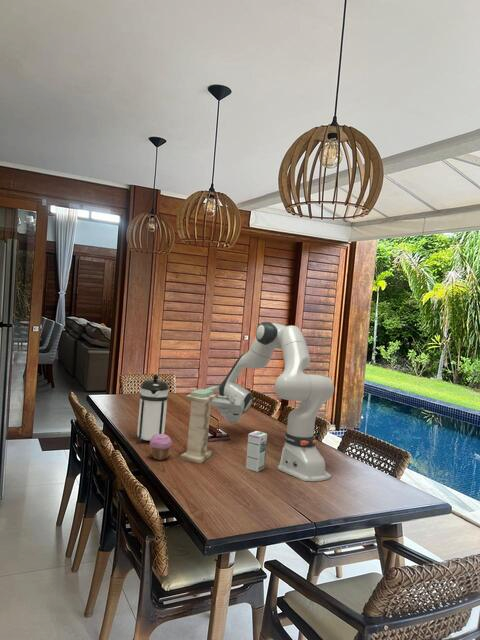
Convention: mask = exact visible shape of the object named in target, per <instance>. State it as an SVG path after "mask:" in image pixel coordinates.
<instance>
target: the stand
mask: <svg viewBox="0 0 480 640" xmlns="http://www.w3.org/2000/svg"><path fill="white" fill-rule="evenodd" d="M190 395H191V393H190V394H187V395H185V396H184V397H185V401H189V402H191V403H190V414H189V422H188V423H189V424H188V437H187V445H186V451H185V452H184V453H181V454H180V455H179V460H182V461H186V462H190V463H197V464H202V463H203V462H204V461H205V460H207V459H209V457H211V456H213V450H208V441H209V430H210V421H211V420H210V418H211V409H212V406H211V401H212V400H214V399H216V398H218V395H219V394H216V393H213V395H211V396H208V397H206V398H199V397H193V396H190Z"/></svg>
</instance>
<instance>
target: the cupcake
mask: <svg viewBox="0 0 480 640" xmlns="http://www.w3.org/2000/svg"><path fill="white" fill-rule="evenodd" d="M172 445H173V440H172V439H171V438H170V436H169V435H168V434H165V433H164V434H156V435H153V436H152V438H151V440H150V441H149V446H150V447H151V452H152V457H153V459H155V460H158V461H162V460H166V459H168V456H169V451H170V449H171V447H172Z"/></svg>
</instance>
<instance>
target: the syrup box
mask: <svg viewBox="0 0 480 640" xmlns="http://www.w3.org/2000/svg"><path fill="white" fill-rule="evenodd" d="M267 442H268V433H266V432H263V431H258V430H255V431H252V432H250V433H248V435H247V446H246V447H247V449H246V450H247V451H246V462H245V469H246V470H250V471H253V472H257V473H259V472H261V470H264V469H265V467H266V454H267V445H268V444H267Z"/></svg>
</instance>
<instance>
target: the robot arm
mask: <svg viewBox="0 0 480 640" xmlns="http://www.w3.org/2000/svg"><path fill="white" fill-rule="evenodd" d="M307 345H308V344H307V342H306V339H305V336H304V334H303V332H302V330H301V329H300V328H299V327H298V326H296V325H287V326H286V325H284V324H281V323H275V322H271V321H262V322H260V323H259V324H258V326H257V328H256V331H255V338H254V340H253V342H252V343H251V346H250V348H249V349H248V351H247V352H246V353H242V354H241V355H240V356H239V357H238V358H237V359H236V361H235V362H234V364H233V366H232V368H231V369H230V371H229V372H228V373H227V375H226V377H225V378H224V379H223V381H222V382H221V383H220V385H219V386H218V387H219V390H218V393H219V394H217V395H218V398H216V399H214V400H212V401H211V407H214V408H215V407H216V410H217V412H219V414H220V415H221V416H222V418H224V420H225V421H226V422H228V423H230V424H237V423H239V422H240V421H241V420H242V417H243V415H244V414H245V413H246V412H248V411H249V410H250V408H251V406H253V402H254V396H253V393H252V392H251V391H250V390H248V389H247V388H245V387H243V386H242V385H240V384H238V382H237V379H238V377H239V375H240V374H241V373H242V371H243V370H244V369H245V368H249V369H252V370H260V369H263V368H265V367H266V366H268V364H269V363H270V361H271V359H272V357H273V353H274V352H275V349H279V350H280V349H281V352H282V358H283V363H284V369H283V371H282V373H280V375H279V376H278V377H277V378H276V379H275V382H274V388H273V389H274V392H275V394H276V395H277V398H279V399H281V400H282V399H283V400H286V401H294V402H296V401H297V402H298V401H299V402H300V404H299V405H298V406H297V407H295V408H294V409H292V410H291V411H290V412H289V413H288V415H287V424H286V425H287V426H286V431H285V434H284V445H283V447H282V452H281V457H280V460H279V465H278V466H277V467H276V469H277V470H279V471H281V472H283V473H285V474H287V475H290V476H292V477H295V478H297V479H299V480H301V481H304V482H320V481H326V480H329V479H330V478H331V474H330V473H329V472H328V471H326V461H325V459H324V456H322V455H321V453H320V452H319V450H318V449H317V447H316V444H317V443H318V439H317V440H316V437H315V435H314V432H315V424H316V419H317V415H318V413H319V411H320V409H321V408H322V406H323V405H324V404H325V403H326V402H327V401H329V400H331V398H332V397H333V395H334V393H335V385H334V382H333V380H332V379H331V378H330V377H329V376H325V375H323V374H322V375H321V374H311V373H310V374H309V373H308V374H306V373H304V372H303V371H304V370H305V369H307V368H308V367H309V365H310V363H311V355H310V353H309V349H308V346H307ZM314 437H315V438H314Z"/></svg>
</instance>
